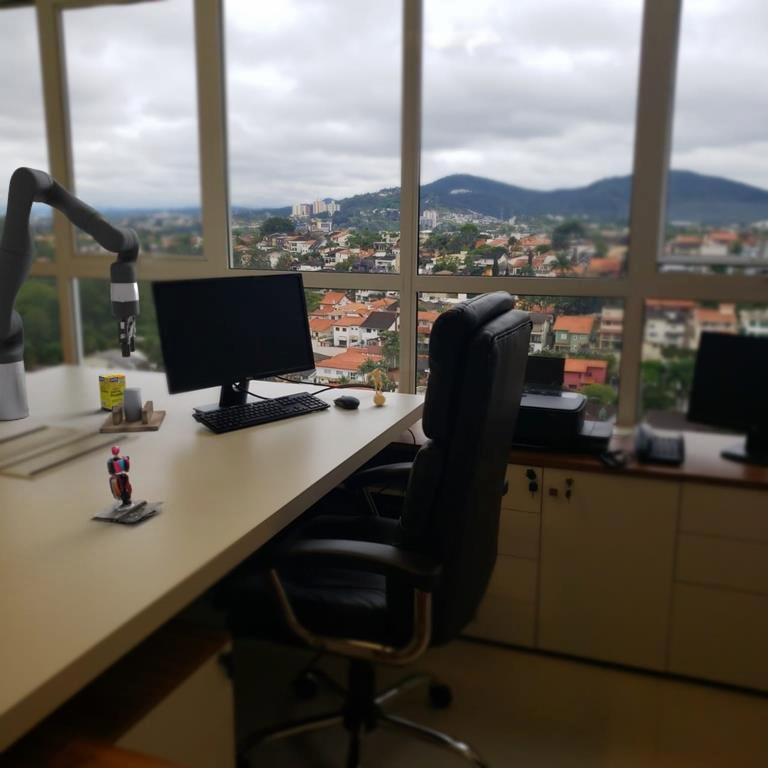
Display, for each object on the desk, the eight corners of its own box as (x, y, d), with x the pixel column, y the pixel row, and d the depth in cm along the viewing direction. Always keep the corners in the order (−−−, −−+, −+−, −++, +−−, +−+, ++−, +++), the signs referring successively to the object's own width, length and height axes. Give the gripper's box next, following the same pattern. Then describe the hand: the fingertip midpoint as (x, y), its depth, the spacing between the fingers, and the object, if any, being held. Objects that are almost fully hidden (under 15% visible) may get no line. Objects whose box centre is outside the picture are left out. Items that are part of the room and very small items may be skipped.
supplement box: (111, 412, 231) (108, 378, 229) (100, 409, 235) (97, 375, 232) (128, 408, 236) (125, 374, 233) (117, 405, 239) (114, 372, 237)
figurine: (369, 407, 236) (369, 371, 233) (363, 403, 241) (363, 367, 239) (393, 405, 239) (393, 369, 236) (386, 401, 244) (386, 366, 242)
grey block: (123, 421, 215) (121, 391, 213) (126, 417, 220) (124, 388, 218) (141, 420, 216) (139, 390, 214) (144, 416, 221) (141, 387, 219)
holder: (99, 432, 208) (98, 415, 207) (111, 416, 226) (110, 400, 224) (158, 430, 211) (157, 412, 210) (165, 414, 228) (164, 397, 227)
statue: (92, 525, 148) (77, 453, 146) (124, 507, 157) (110, 440, 154) (135, 526, 144) (121, 453, 142) (165, 508, 153) (152, 439, 150)
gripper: (115, 296, 216) (119, 350, 220) (106, 301, 203) (110, 359, 206) (142, 296, 218) (145, 350, 221) (134, 301, 204) (138, 358, 207)
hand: (128, 354), depth 214 cm, fingers open, 8 cm apart
